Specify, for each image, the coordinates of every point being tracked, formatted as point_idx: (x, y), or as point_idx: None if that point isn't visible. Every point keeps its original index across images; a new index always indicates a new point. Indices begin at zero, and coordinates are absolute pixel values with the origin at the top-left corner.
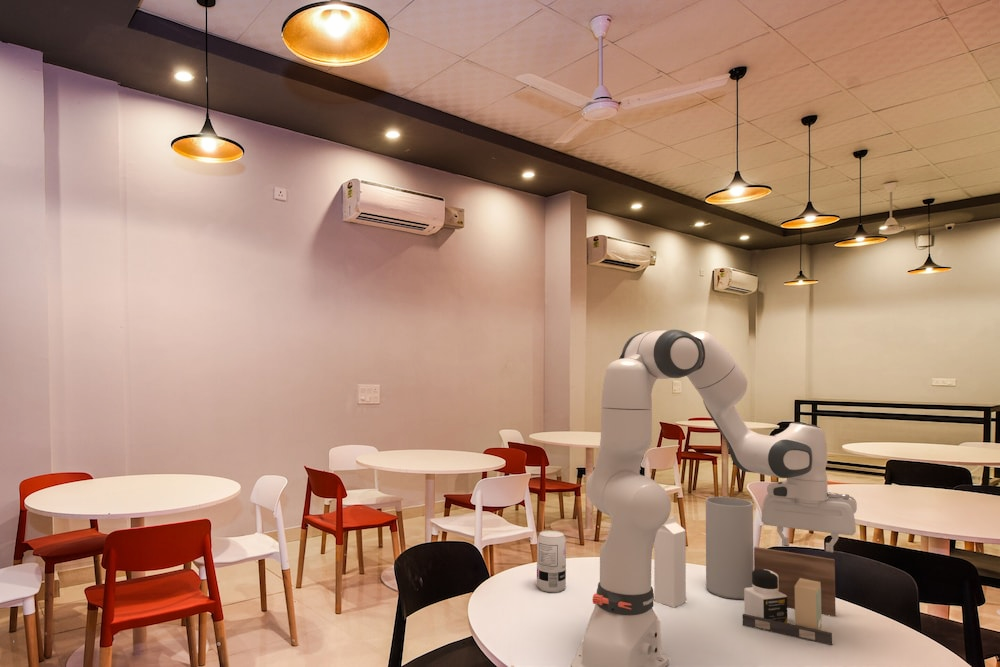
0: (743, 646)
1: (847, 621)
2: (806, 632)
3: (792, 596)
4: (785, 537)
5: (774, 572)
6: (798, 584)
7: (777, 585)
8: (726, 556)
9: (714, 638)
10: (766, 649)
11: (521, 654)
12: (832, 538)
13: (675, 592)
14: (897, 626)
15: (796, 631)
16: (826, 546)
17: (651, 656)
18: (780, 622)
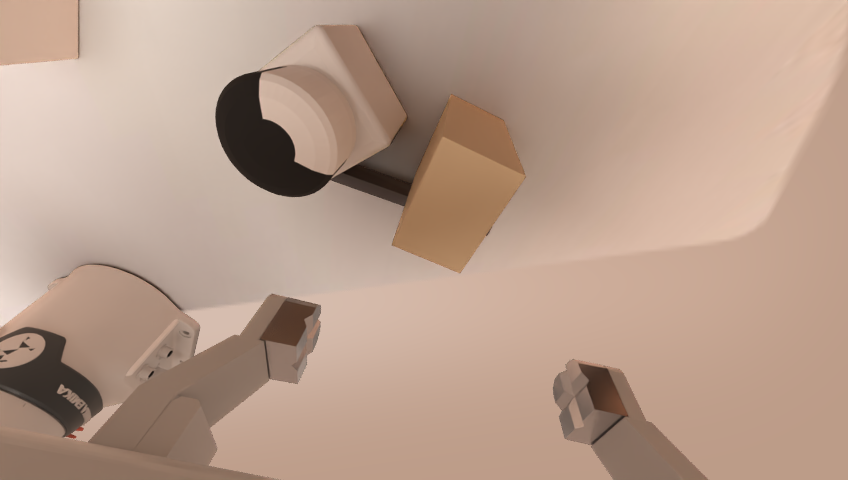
0: (297, 256)
1: (642, 17)
2: None
3: None
4: (270, 343)
5: (315, 135)
6: (411, 226)
7: (342, 164)
8: None
9: (239, 234)
10: (339, 261)
11: None
12: (668, 473)
13: (24, 54)
14: (836, 16)
15: None
16: (562, 421)
17: (171, 339)
18: (371, 189)
